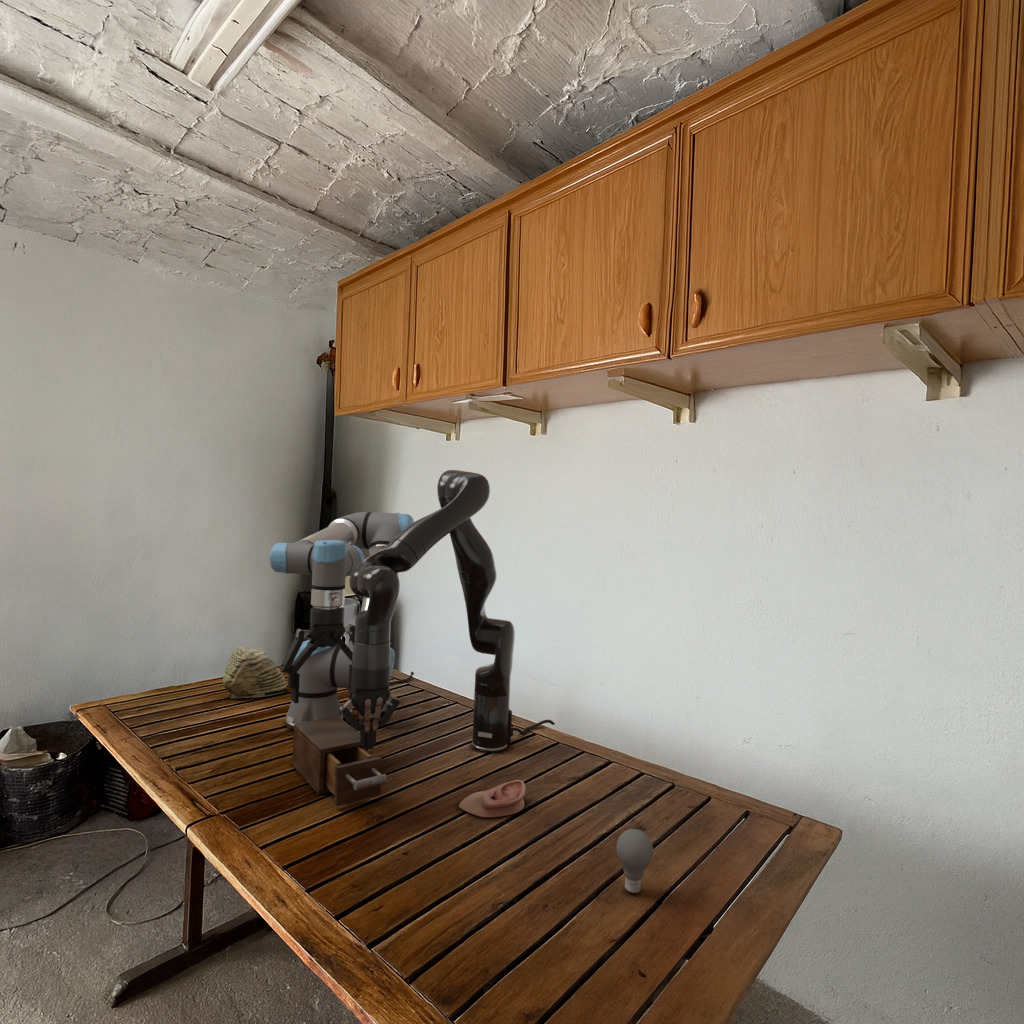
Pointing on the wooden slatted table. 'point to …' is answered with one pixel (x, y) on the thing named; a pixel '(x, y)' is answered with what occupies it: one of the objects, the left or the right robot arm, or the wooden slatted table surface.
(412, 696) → the wooden slatted table surface
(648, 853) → the light bulb
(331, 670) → the left robot arm
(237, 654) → the fossil
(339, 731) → the cabinet
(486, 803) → the anatomical model
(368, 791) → the drawer
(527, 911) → the wooden slatted table surface
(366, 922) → the wooden slatted table surface
